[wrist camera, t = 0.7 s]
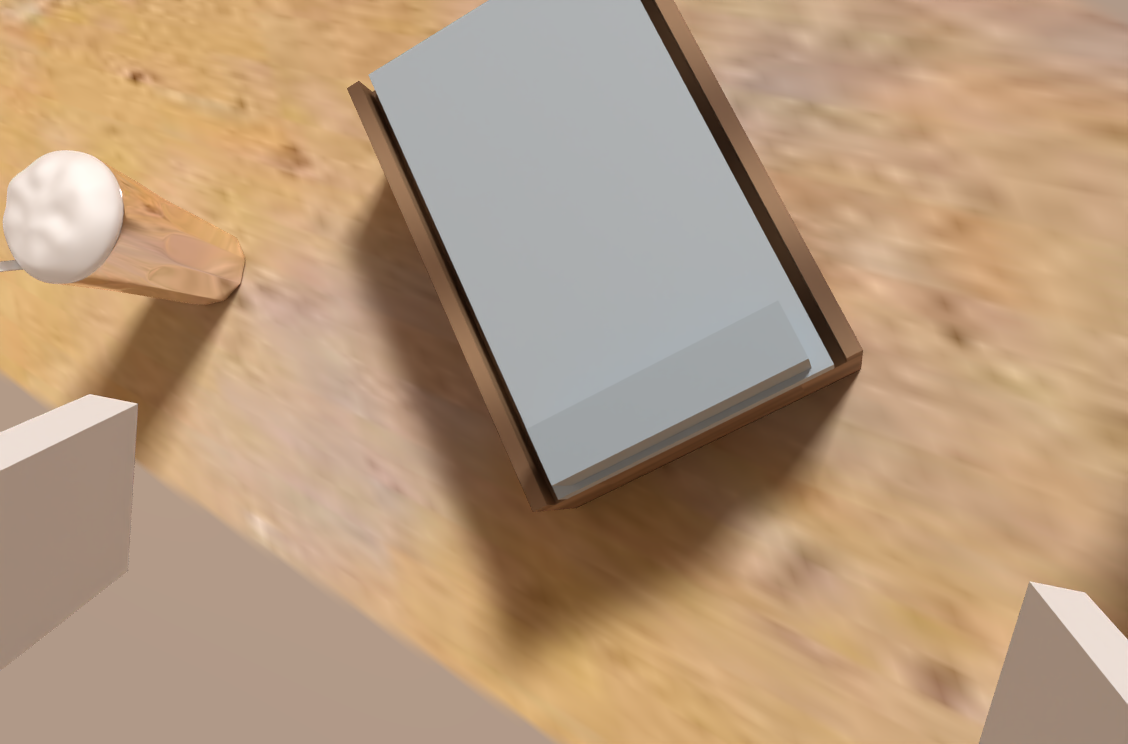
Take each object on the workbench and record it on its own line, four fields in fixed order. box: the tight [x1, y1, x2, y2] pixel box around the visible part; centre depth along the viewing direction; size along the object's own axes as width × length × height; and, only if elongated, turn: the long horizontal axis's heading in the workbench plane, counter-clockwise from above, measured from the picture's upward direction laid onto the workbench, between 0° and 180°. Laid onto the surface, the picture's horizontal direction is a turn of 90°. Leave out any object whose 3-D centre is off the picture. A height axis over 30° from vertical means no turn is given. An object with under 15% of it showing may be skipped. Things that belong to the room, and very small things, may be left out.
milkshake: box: [0, 150, 245, 305], centre depth 36 cm, size 5×5×10 cm
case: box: [347, 0, 863, 512], centre depth 33 cm, size 16×11×5 cm
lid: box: [369, 0, 834, 500], centre depth 30 cm, size 16×9×3 cm, turn 25°
